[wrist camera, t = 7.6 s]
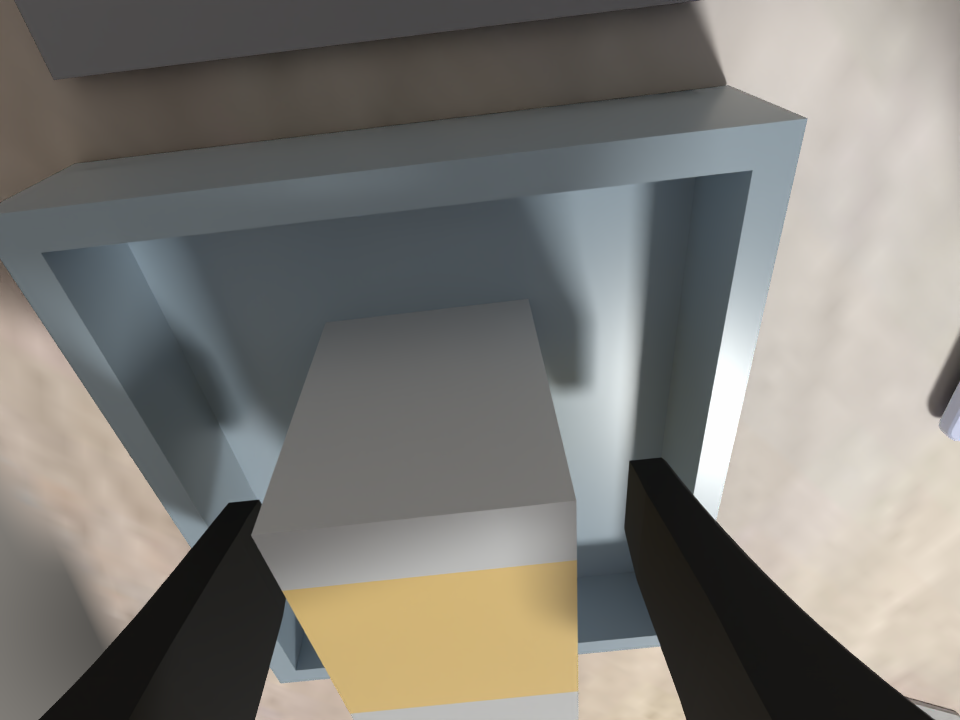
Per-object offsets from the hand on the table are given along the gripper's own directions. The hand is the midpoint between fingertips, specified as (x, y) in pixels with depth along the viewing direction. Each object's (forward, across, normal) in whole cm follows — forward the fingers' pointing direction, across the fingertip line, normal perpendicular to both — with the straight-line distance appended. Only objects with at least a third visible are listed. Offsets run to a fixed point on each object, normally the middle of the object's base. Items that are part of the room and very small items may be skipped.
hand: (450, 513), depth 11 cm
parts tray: (+3, 0, 0) cm, 3 cm away
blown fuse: (+2, 0, 0) cm, 2 cm away
